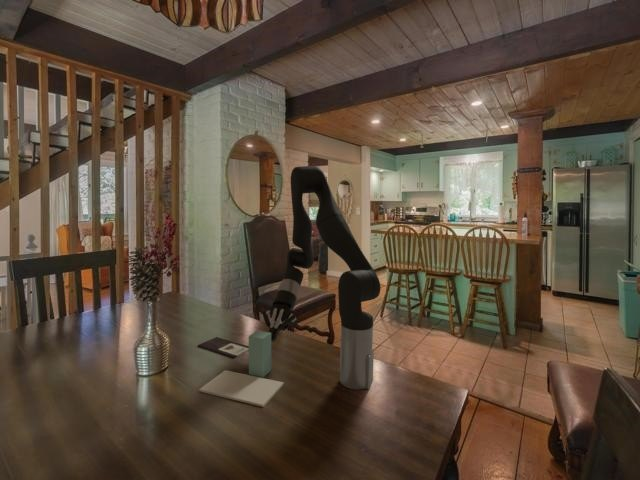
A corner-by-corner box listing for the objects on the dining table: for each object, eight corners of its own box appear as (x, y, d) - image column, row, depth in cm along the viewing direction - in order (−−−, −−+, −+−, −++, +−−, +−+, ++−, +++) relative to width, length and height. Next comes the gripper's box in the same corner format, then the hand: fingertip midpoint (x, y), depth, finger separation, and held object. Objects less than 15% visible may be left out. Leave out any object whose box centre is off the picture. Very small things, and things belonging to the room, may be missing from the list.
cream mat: (283, 384, 95) (283, 382, 95) (263, 406, 84) (263, 404, 84) (225, 372, 101) (225, 370, 101) (199, 391, 90) (199, 389, 90)
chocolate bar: (216, 336, 127) (251, 347, 118) (216, 339, 128) (252, 349, 119) (197, 345, 120) (233, 356, 111) (197, 347, 120) (233, 359, 111)
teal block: (271, 369, 103) (271, 332, 102) (263, 377, 99) (263, 338, 97) (257, 367, 105) (257, 330, 104) (248, 374, 100) (248, 336, 99)
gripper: (267, 287, 117) (248, 332, 107) (301, 291, 113) (285, 338, 102) (274, 298, 123) (257, 342, 112) (306, 302, 118) (292, 348, 108)
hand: (270, 340), depth 107 cm, fingers closed
